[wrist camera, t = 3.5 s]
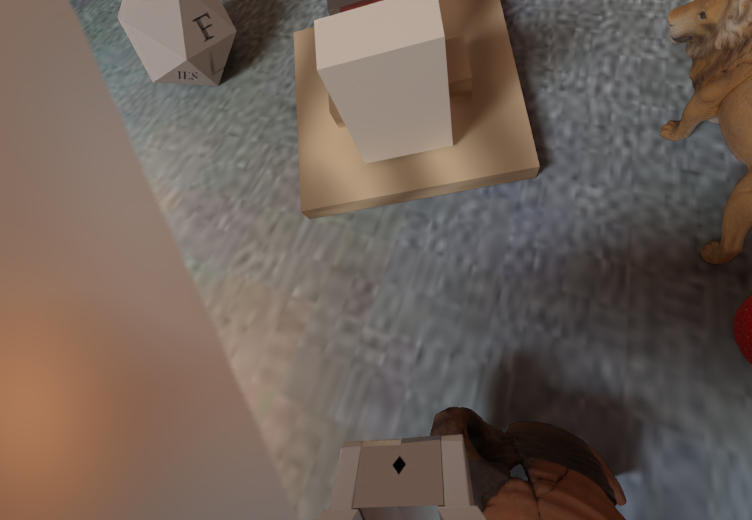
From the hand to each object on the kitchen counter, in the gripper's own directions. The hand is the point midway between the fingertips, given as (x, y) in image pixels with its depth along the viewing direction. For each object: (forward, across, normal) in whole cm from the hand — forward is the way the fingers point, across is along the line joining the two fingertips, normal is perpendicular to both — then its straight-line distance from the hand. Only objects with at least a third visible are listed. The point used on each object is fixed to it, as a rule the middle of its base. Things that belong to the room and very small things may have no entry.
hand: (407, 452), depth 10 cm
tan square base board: (+25, 0, -5) cm, 26 cm away
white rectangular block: (+21, 0, -3) cm, 21 cm away
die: (+32, +17, -11) cm, 38 cm away
